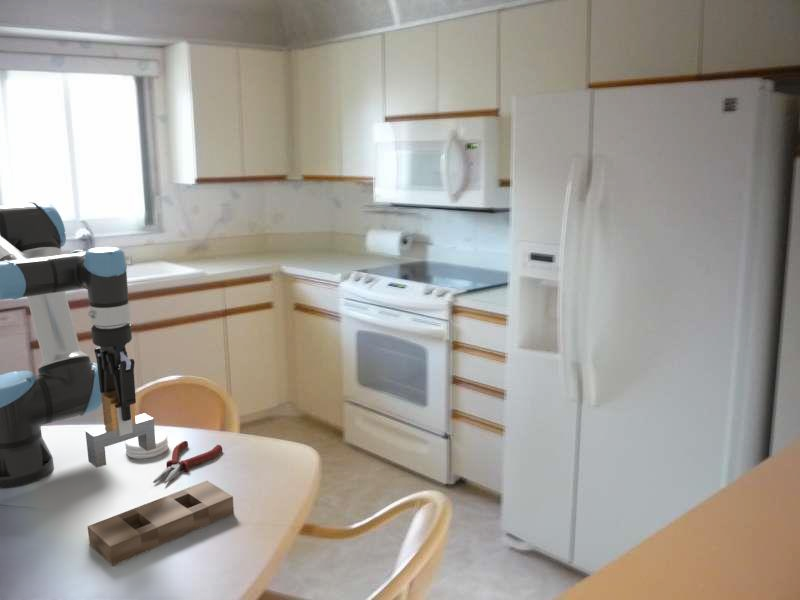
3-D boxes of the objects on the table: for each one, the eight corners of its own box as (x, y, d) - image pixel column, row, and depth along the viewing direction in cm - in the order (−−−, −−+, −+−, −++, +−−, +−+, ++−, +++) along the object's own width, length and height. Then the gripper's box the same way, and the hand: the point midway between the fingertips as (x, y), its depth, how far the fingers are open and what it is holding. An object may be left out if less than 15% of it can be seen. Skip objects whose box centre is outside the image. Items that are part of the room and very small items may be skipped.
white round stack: (175, 451, 182) (174, 438, 181) (136, 463, 175) (135, 450, 174) (157, 439, 189) (156, 426, 188) (119, 450, 182) (118, 437, 181)
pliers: (136, 484, 165) (136, 474, 165) (183, 448, 184) (182, 438, 184) (182, 490, 163) (181, 480, 162) (224, 453, 182) (224, 443, 181)
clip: (88, 461, 152) (82, 398, 149) (147, 442, 161) (142, 383, 158) (96, 467, 149) (90, 404, 146) (155, 448, 158) (151, 387, 155)
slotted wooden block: (89, 544, 141) (87, 526, 140) (208, 497, 159) (207, 480, 158) (112, 566, 134) (110, 546, 133) (233, 513, 152) (232, 496, 151)
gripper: (75, 319, 151) (86, 423, 157) (111, 336, 140) (121, 448, 145) (110, 312, 156) (119, 414, 162) (148, 328, 145) (156, 437, 150)
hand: (120, 430), depth 154 cm, fingers closed on clip, 4 cm apart
